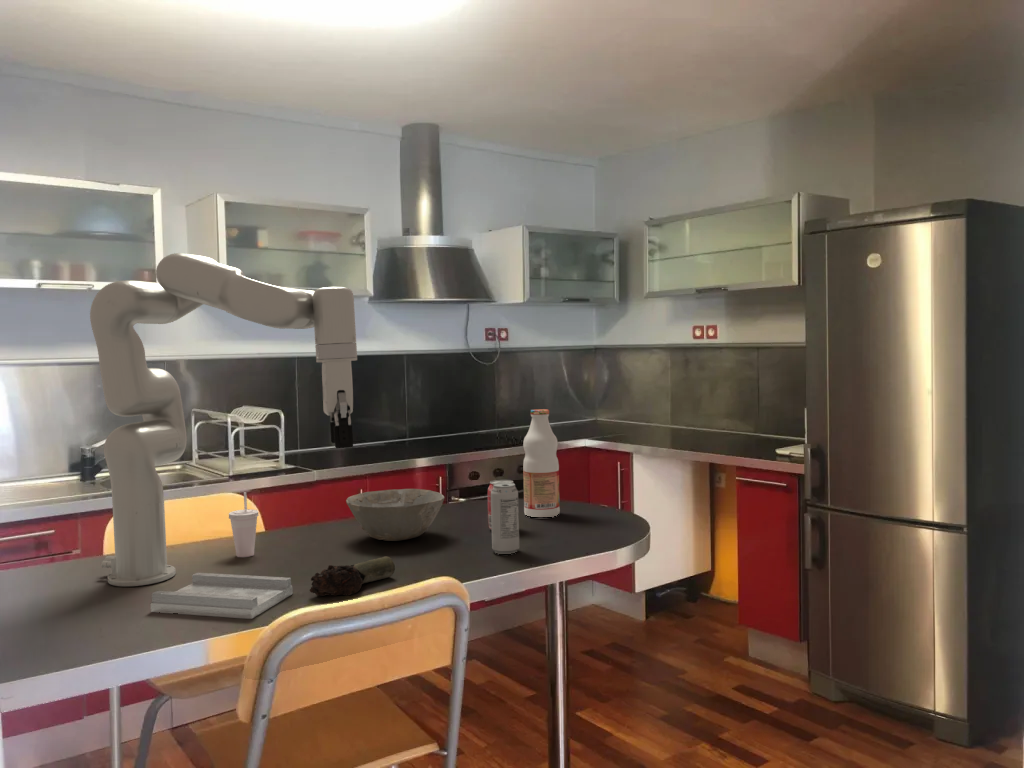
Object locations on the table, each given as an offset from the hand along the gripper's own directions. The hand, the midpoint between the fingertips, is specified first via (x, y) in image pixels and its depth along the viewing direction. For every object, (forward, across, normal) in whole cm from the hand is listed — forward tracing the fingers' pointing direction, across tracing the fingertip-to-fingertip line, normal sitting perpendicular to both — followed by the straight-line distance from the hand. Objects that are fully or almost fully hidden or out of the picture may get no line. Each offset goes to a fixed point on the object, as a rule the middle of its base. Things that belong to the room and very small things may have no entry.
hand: (341, 444), depth 155 cm
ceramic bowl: (+28, -38, +14) cm, 49 cm away
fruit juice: (+29, -49, +55) cm, 79 cm away
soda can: (+28, -36, +40) cm, 61 cm away
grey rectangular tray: (+27, -1, -23) cm, 36 cm away
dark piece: (+28, -2, +1) cm, 28 cm away
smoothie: (+27, -35, -20) cm, 49 cm away
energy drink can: (+29, -16, +35) cm, 48 cm away
